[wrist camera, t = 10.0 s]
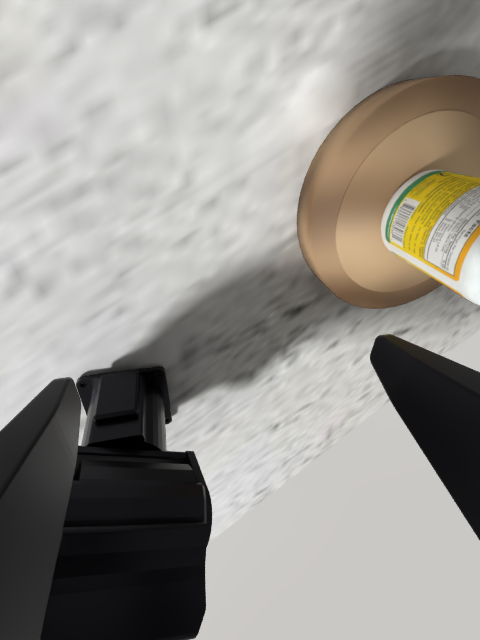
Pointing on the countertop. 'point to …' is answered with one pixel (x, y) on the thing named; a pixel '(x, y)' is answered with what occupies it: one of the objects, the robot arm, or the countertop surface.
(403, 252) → the supplement bottle
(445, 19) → the countertop surface
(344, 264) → the plate
